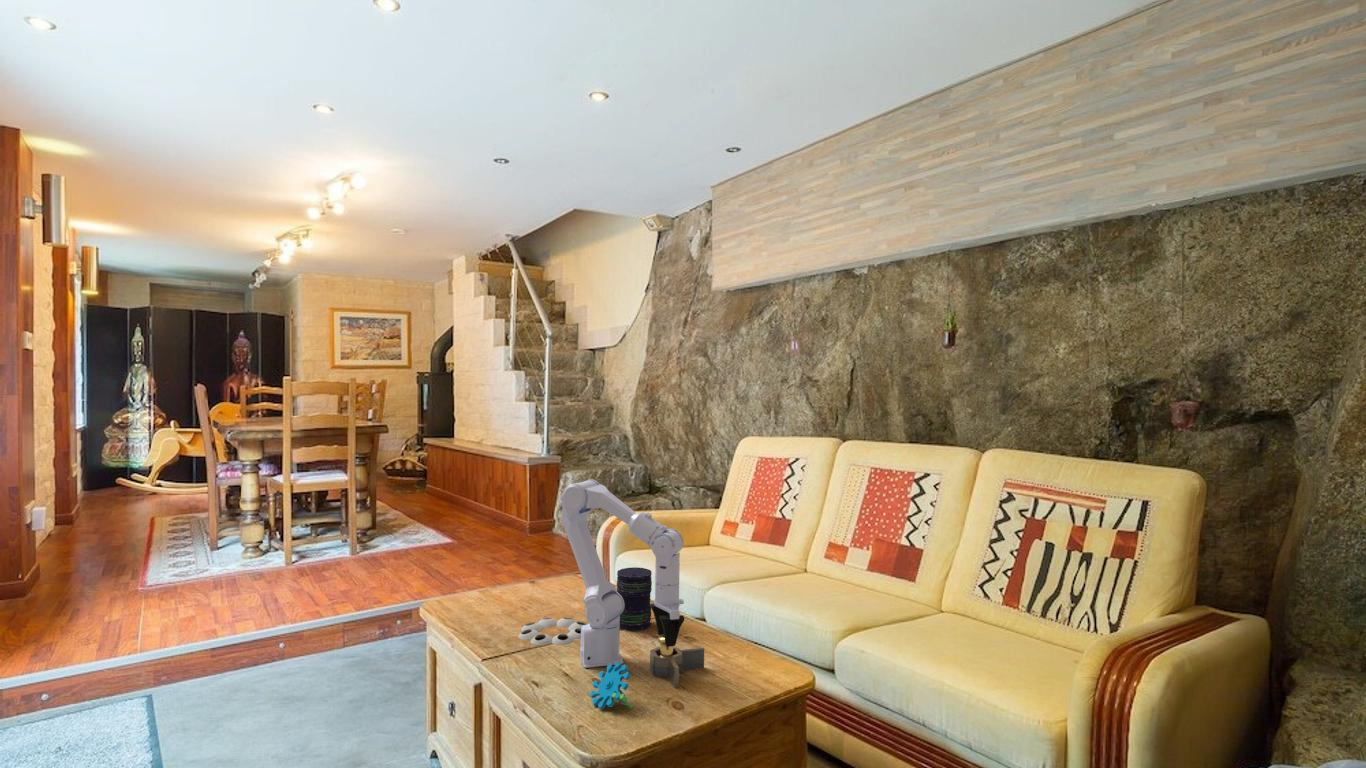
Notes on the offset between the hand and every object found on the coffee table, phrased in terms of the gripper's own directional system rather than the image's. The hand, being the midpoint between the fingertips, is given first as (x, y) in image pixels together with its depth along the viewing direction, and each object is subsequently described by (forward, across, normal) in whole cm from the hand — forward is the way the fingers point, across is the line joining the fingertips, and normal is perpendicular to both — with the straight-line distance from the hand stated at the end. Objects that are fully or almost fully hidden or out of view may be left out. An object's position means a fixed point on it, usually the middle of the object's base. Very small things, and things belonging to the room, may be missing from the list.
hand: (666, 639), depth 162 cm
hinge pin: (+7, 0, 0) cm, 7 cm away
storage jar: (+8, +32, +1) cm, 33 cm away
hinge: (+7, -3, -3) cm, 8 cm away
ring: (+8, +32, +23) cm, 40 cm away
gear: (+8, -13, +15) cm, 22 cm away
